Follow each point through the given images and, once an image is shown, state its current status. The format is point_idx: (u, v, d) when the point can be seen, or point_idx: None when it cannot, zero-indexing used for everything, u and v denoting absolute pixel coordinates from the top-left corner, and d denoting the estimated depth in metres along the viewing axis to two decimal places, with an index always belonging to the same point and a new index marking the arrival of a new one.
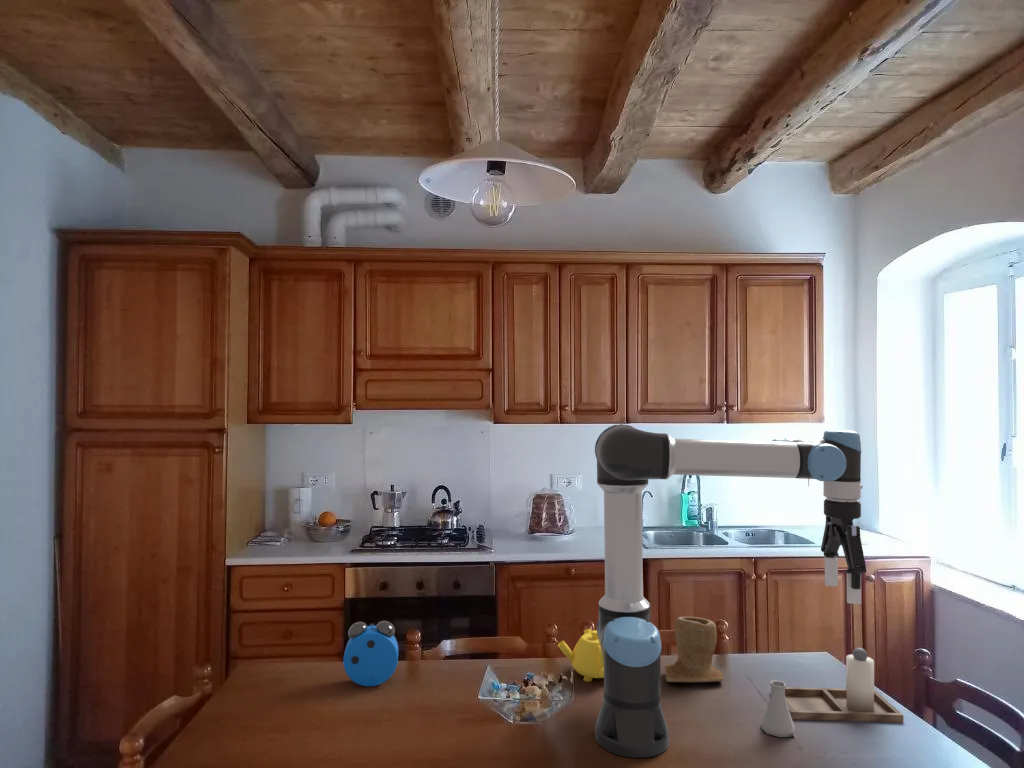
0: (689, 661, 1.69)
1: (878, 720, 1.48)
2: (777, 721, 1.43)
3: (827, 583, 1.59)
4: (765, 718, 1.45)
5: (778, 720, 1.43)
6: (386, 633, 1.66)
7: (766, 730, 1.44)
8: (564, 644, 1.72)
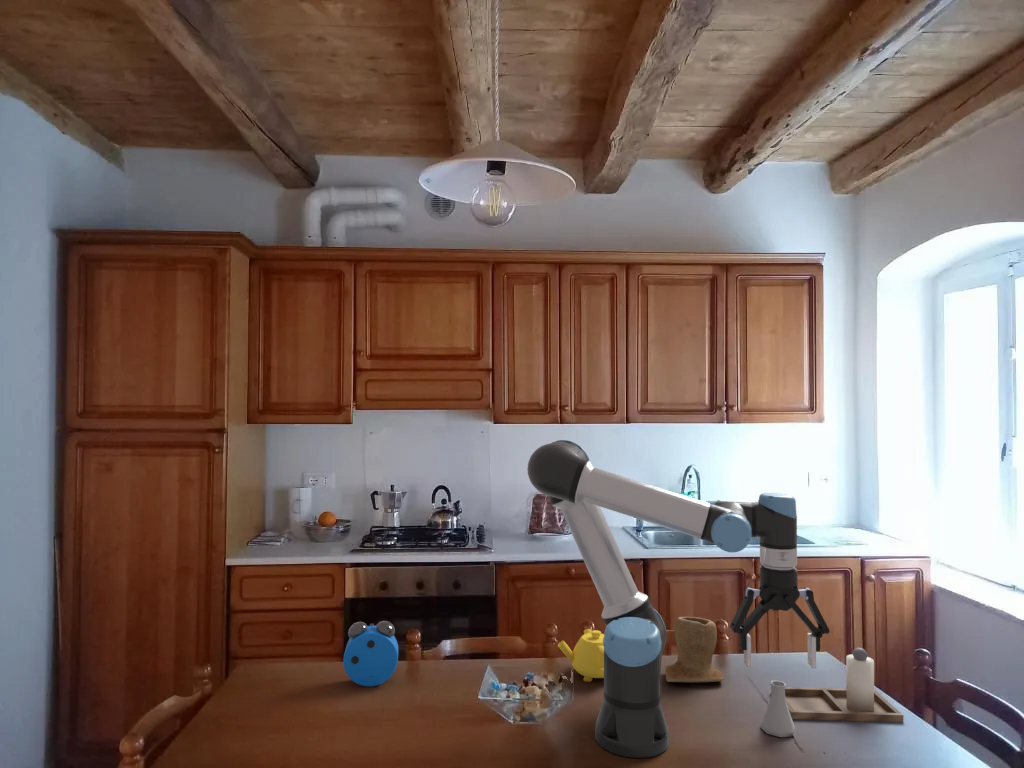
0: (689, 661, 1.69)
1: (878, 720, 1.48)
2: (777, 721, 1.43)
3: (808, 661, 1.46)
4: (765, 718, 1.45)
5: (778, 720, 1.43)
6: (386, 633, 1.66)
7: (766, 730, 1.44)
8: (564, 644, 1.72)
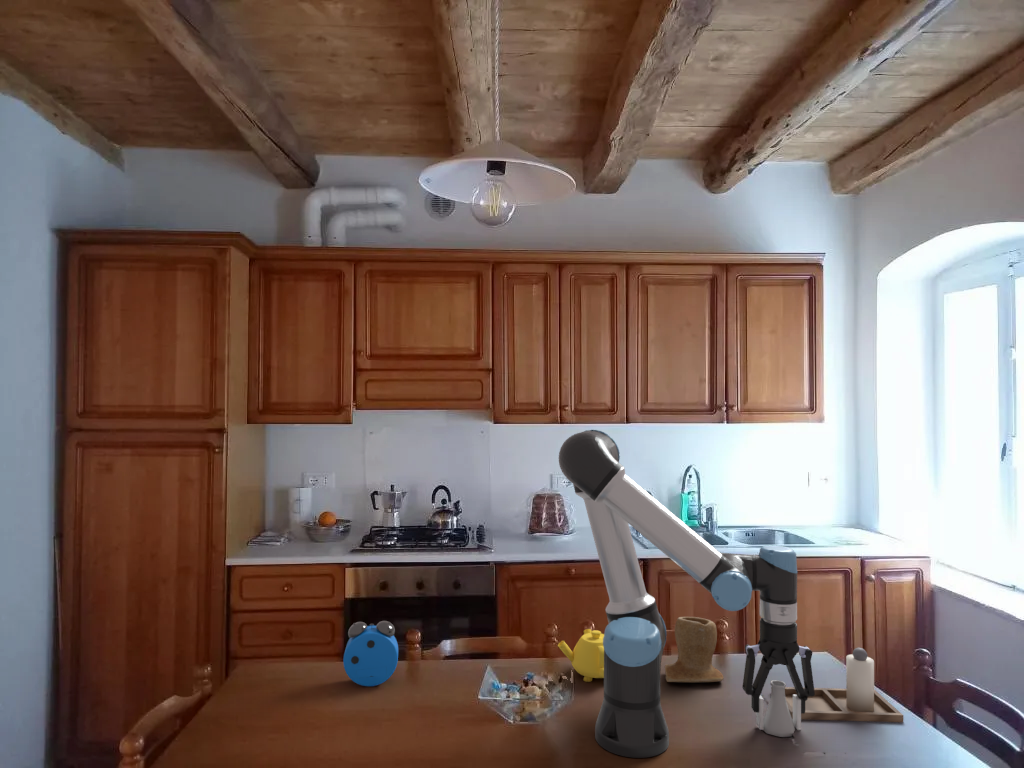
0: (689, 661, 1.69)
1: (878, 720, 1.48)
2: (777, 721, 1.43)
3: (793, 722, 1.46)
4: (765, 718, 1.45)
5: (778, 720, 1.43)
6: (386, 633, 1.66)
7: (766, 730, 1.44)
8: (564, 644, 1.72)
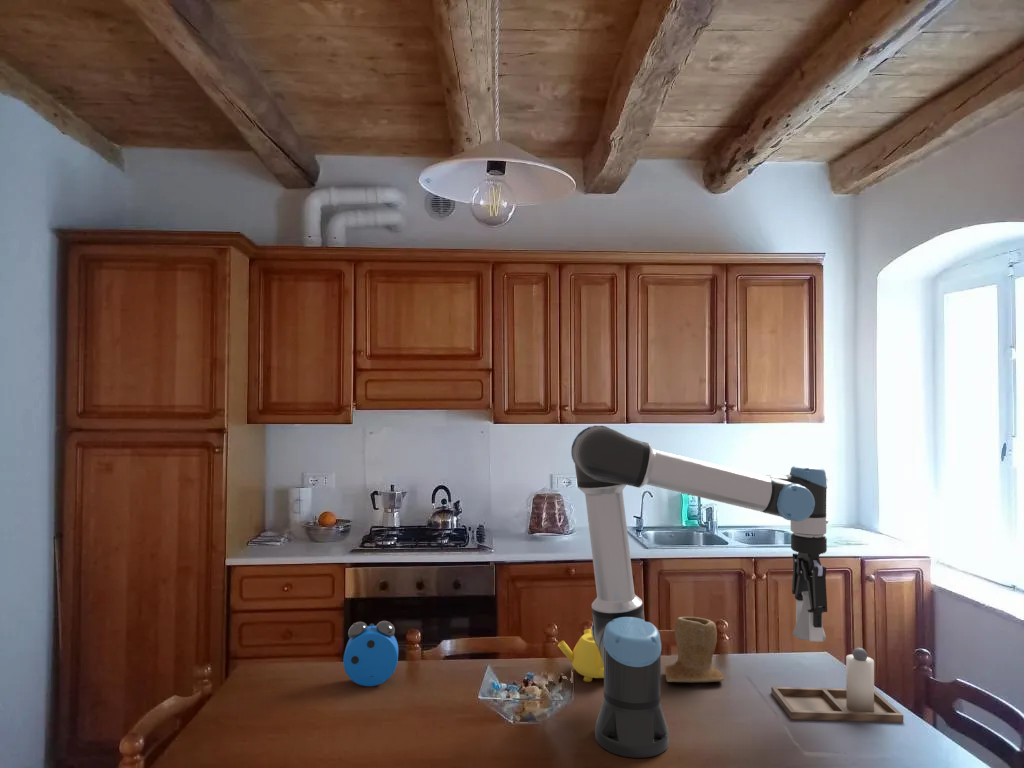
0: (689, 661, 1.69)
1: (878, 720, 1.48)
2: None
3: None
4: None
5: None
6: (386, 633, 1.66)
7: None
8: (564, 644, 1.72)
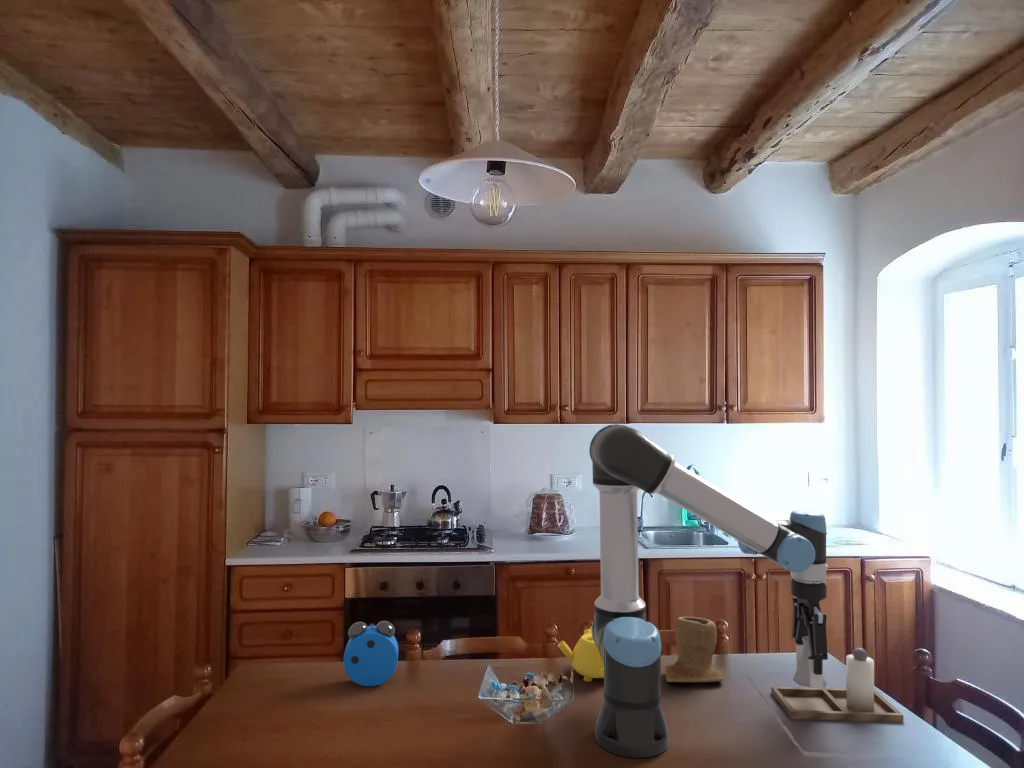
0: (689, 661, 1.69)
1: (878, 720, 1.48)
2: None
3: None
4: None
5: None
6: (386, 633, 1.66)
7: None
8: (564, 644, 1.72)
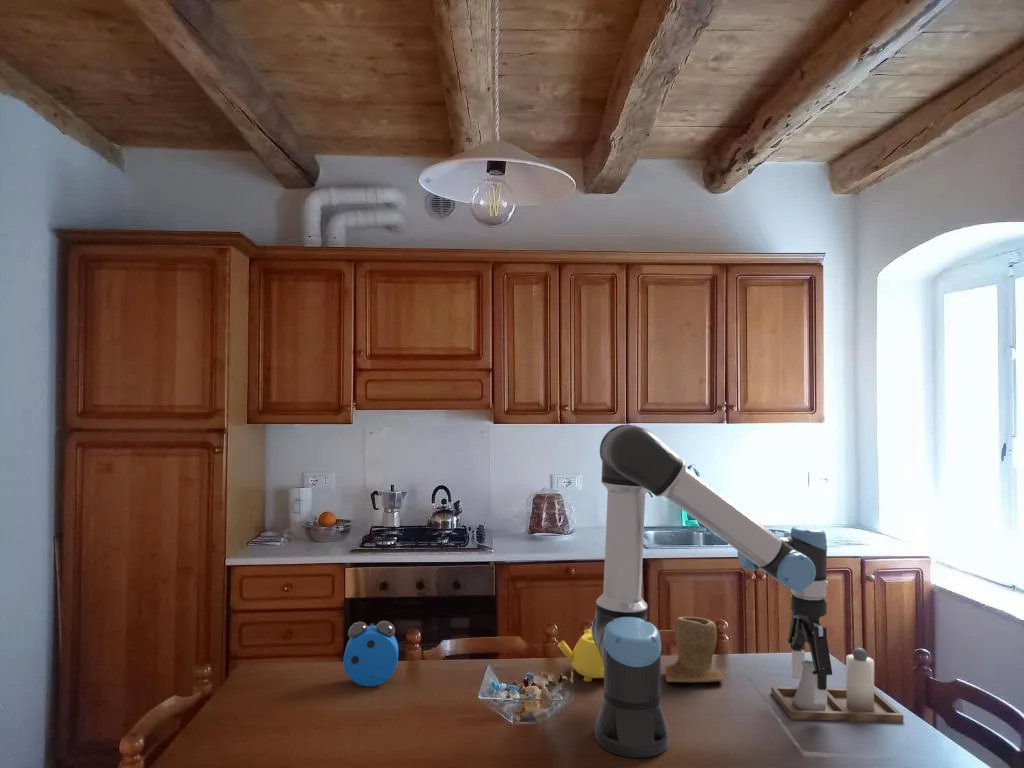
0: (689, 661, 1.69)
1: (878, 720, 1.48)
2: None
3: (794, 676, 1.61)
4: None
5: None
6: (386, 633, 1.66)
7: (821, 709, 1.52)
8: (564, 644, 1.72)
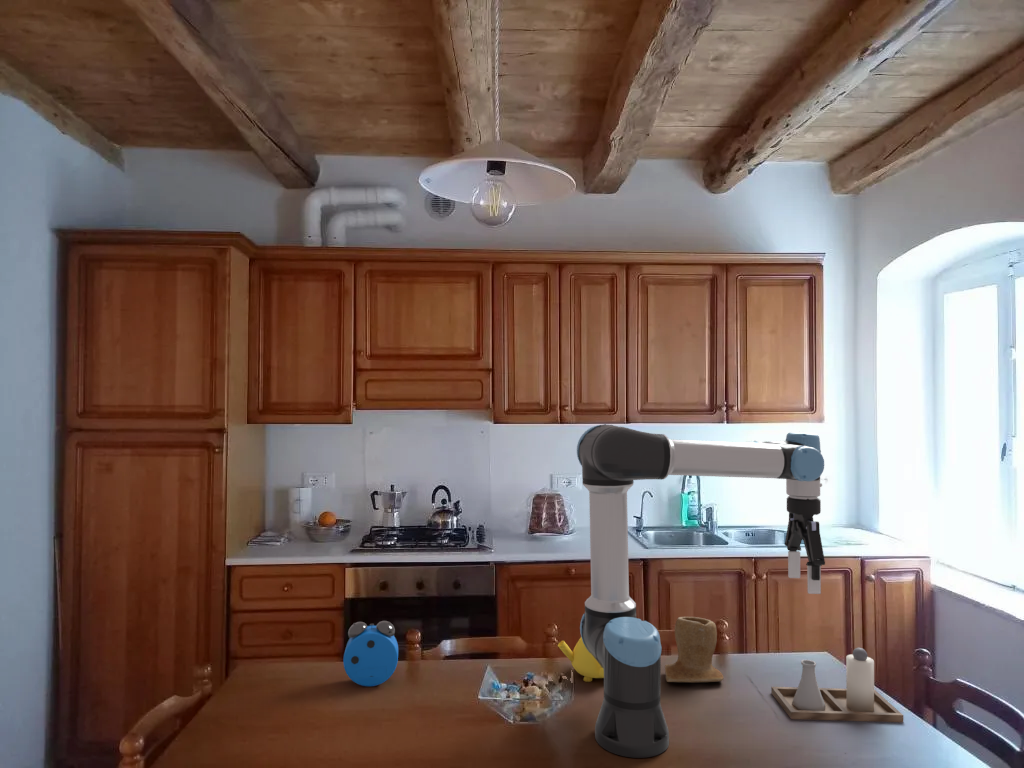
0: (689, 661, 1.69)
1: (878, 720, 1.48)
2: (820, 695, 1.54)
3: (790, 575, 1.69)
4: (813, 700, 1.52)
5: (820, 694, 1.54)
6: (386, 633, 1.66)
7: (821, 709, 1.52)
8: (564, 644, 1.72)
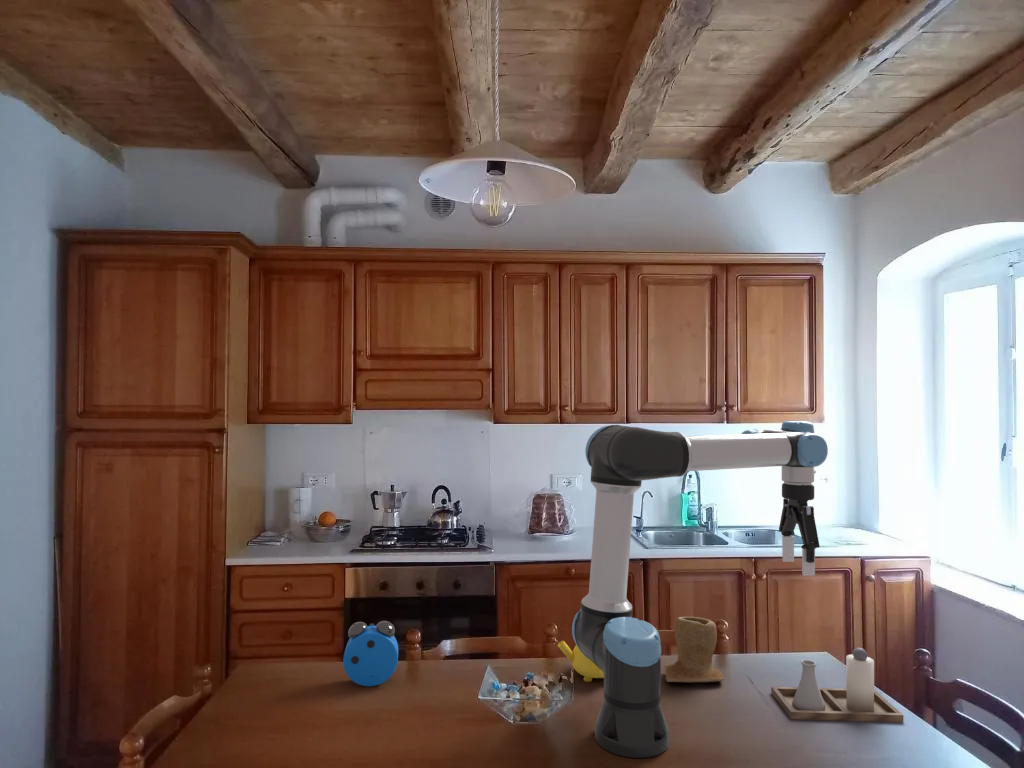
0: (689, 661, 1.69)
1: (878, 720, 1.48)
2: (820, 695, 1.54)
3: (784, 559, 1.76)
4: (813, 700, 1.52)
5: (820, 694, 1.54)
6: (386, 633, 1.66)
7: (821, 709, 1.52)
8: (564, 644, 1.72)
